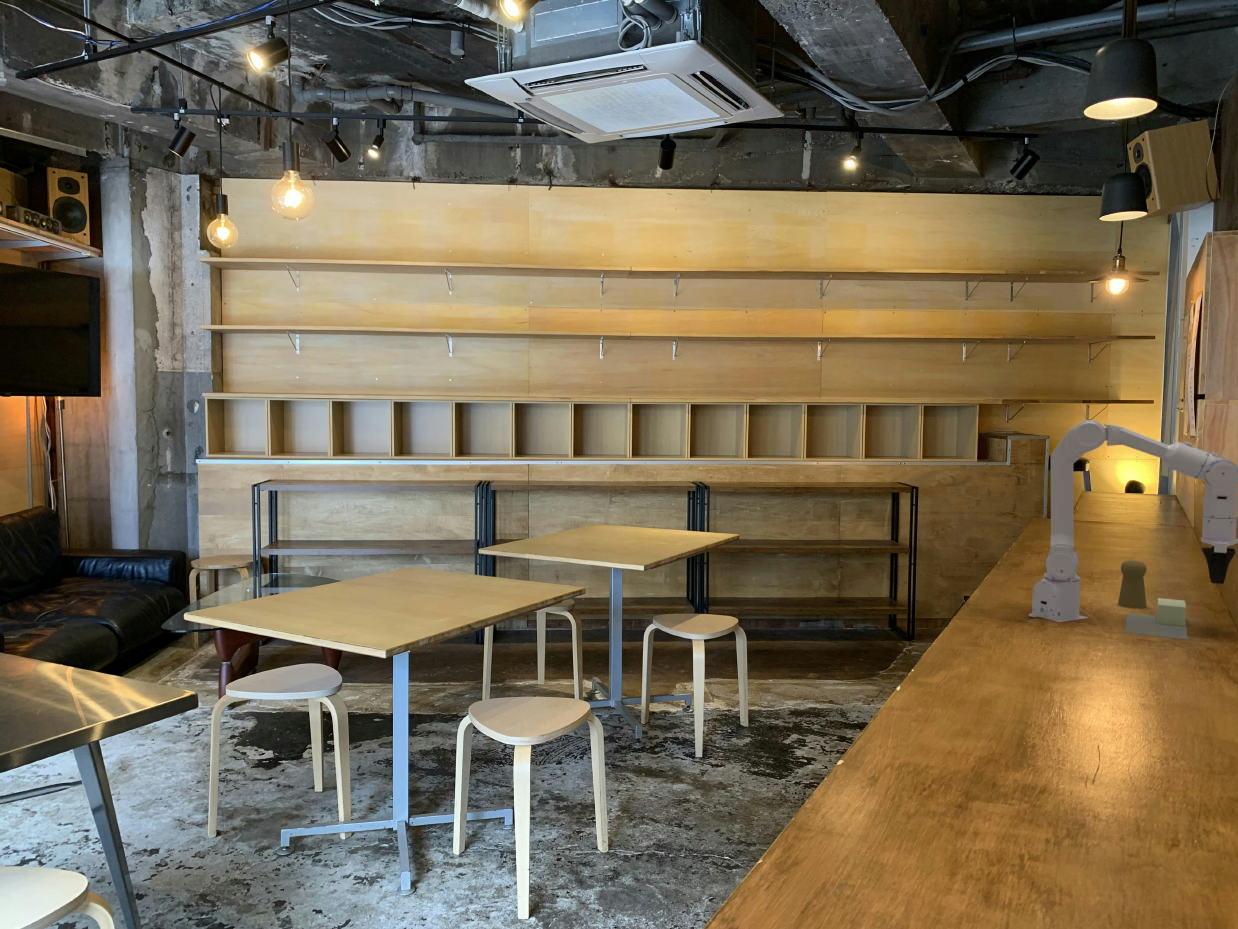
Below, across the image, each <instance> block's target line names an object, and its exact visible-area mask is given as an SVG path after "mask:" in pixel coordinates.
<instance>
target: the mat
mask: <svg viewBox="0 0 1238 929" xmlns="http://www.w3.org/2000/svg"><path fill="white" fill-rule="evenodd" d="M1187 630H1188V629H1187V621H1186V618H1185V626H1177V625H1168V624H1158V623H1157V616H1153V615H1146V614H1145V615H1144V614H1136V613H1126V620H1125V625H1124V630H1123V633H1125V634H1133V635H1144V636H1152V637H1161V638H1170V639H1176V640H1177V639H1179V640H1186V641H1188V639H1189V638H1188V631H1187Z"/></svg>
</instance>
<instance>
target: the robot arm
mask: <svg viewBox="0 0 1238 929" xmlns="http://www.w3.org/2000/svg"><path fill="white" fill-rule="evenodd" d="M1104 426H1105V427H1104ZM1105 442H1106V446H1107V447H1108V446H1109V447H1111V446H1125V447H1128V448H1131V449H1134V450H1136V451H1139V452H1141V453H1145V454H1148V455H1151V456H1153V457H1156V458H1160V459H1161V460H1162V462H1163V464H1164V466H1165V468H1166V469H1167V468H1168V469H1170V470H1172V471H1175V472H1178V473H1180V474H1183V475H1185V476H1189V477H1191V478H1192V479H1193V478H1194V479H1196V480H1200V479H1203V480H1204V481H1205V490H1204V493H1203V504H1202V505H1203V506H1202V507H1203V510H1202V531H1201V532H1202V536H1201V537H1200V541H1201V542H1202V543H1204V544H1207V545H1210V546H1211V547H1201V551H1202V553H1203V554H1204V556H1205V559H1206V562H1207V563H1206V564H1207V568H1208V575H1209V580H1210V583H1211V584H1216V585H1217V584H1220V585H1224V583H1225V580H1226V576H1227V572H1228V569H1229V566H1230V564H1231V561H1232V559H1233V558H1234V556H1235V555H1236V549H1235V548H1234V547H1233V548H1232V547H1230V546H1234V545H1236V544H1238V538H1237V517H1238V516H1237V514H1238V495H1237V492H1238V486H1237V484H1238V465H1237V464H1236V463H1235V462H1234V461H1232V460H1228V459H1226V458H1225V457H1219V456H1218V455H1219V454H1218V453H1216V452H1214V451H1212V452H1211V453H1209V452H1207V451H1205V450H1201V449H1200V448H1196V447H1194V446H1193V445H1194V444H1193V443H1191V442H1189V441H1185V442H1184V443H1182V442H1180V441H1179V442H1175V443H1172V444H1166V443H1163V442H1161V441H1159V440H1157V439H1154V438H1151V437H1148V436H1146V435H1144V434H1140V433H1138V432H1137V431H1136V432H1135V431H1133V430H1130V429H1128V428H1126V427H1123V426H1120V425H1115V424H1111V423H1110V424H1109V423H1105V422H1103V423H1100V422H1099V421H1097V420H1095V419H1094V420H1092V419H1086V420H1083V421H1081V422H1079V423H1078V424H1076V425H1074V426H1073V427H1072V428H1070V429H1068V431H1067V432H1066V433H1065V435H1064V436H1063V437H1062V439H1061V440H1060V441H1059V443H1058V444H1057V446H1056V447H1055V448H1054V449H1053V451H1052V452H1051V454H1050V543H1049V544H1050V545H1049V547H1050V550H1049V552H1048V554H1047V558H1046V560H1045V569H1046V571H1047V572H1044V573H1043V578H1042V580H1039V581H1037V582H1036V583H1035V584H1034V586H1033V588H1032V598H1031V599H1032V602H1031V607H1032V608H1031V613H1029V614H1028V617H1031V618H1036V617H1037V618H1042V619H1045V620H1049V621H1053V622H1058V623H1062V622H1068V621H1076V620H1082V619H1088V618H1089V617H1088V616H1084V615H1080V600H1081V599H1080V597H1081V596H1080V595H1081V577H1080V576H1079V575H1078V574H1077V571H1078V569H1079V561H1080V558H1079V555H1078V553H1077V551H1076V549H1075V540H1074V538H1075V537H1074V533H1075V532H1074V528H1075V527H1074V521H1075V520H1074V464H1075V463H1076V462H1077V461H1078V460H1079V459H1080V458H1082V457H1083V456H1084V455H1085V454H1087V453H1090V452H1092V451H1094V450H1096V449H1098V448H1101V446H1102V445H1103V444H1104V443H1105Z"/></svg>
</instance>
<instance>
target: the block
mask: <svg viewBox="0 0 1238 929" xmlns="http://www.w3.org/2000/svg"><path fill="white" fill-rule="evenodd" d="M1186 611H1187V608H1186V600H1183V599H1171V598H1161V597H1158V598H1157V623H1158V624H1168V625H1177V626H1185V619H1186Z"/></svg>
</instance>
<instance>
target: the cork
mask: <svg viewBox="0 0 1238 929" xmlns="http://www.w3.org/2000/svg"><path fill="white" fill-rule="evenodd" d="M1120 572H1121V574H1122V580H1121V584H1120V585H1121V586H1120V590H1119V595H1118V596H1119V597H1118V601H1117V606H1119V607H1122V608H1128V609H1135V610H1136V609H1146V608H1147V607H1148V604H1147V597H1146V590H1145V589H1146V588H1145V579H1144V576H1145V575H1146V574H1147V565H1146V564H1145V563H1144V562H1141V561H1137V560H1125V561H1123V562H1122V563H1121V565H1120Z"/></svg>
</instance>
